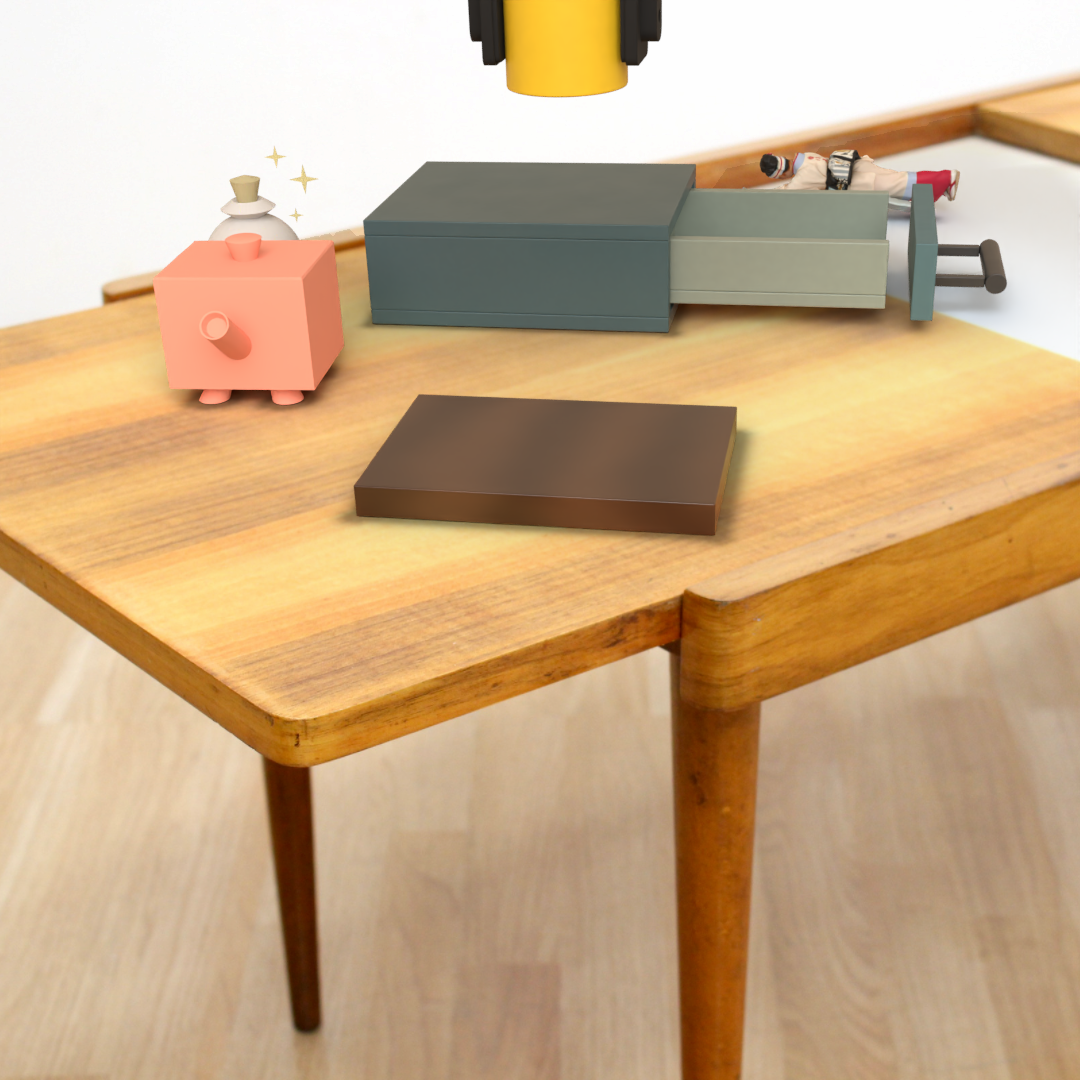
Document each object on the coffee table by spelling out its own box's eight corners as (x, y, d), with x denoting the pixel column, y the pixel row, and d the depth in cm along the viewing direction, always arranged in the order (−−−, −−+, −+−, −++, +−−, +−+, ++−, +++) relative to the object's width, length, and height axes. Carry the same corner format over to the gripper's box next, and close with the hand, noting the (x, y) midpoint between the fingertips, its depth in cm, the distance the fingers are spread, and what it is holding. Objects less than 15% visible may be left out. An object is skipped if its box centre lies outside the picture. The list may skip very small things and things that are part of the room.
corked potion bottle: (222, 295, 99) (201, 136, 94) (338, 292, 98) (323, 133, 94) (201, 326, 93) (177, 160, 89) (324, 323, 93) (306, 156, 88)
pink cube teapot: (151, 431, 79) (125, 274, 75) (222, 349, 90) (203, 208, 86) (300, 433, 78) (282, 274, 74) (354, 350, 89) (340, 207, 85)
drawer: (994, 254, 97) (1000, 184, 95) (1008, 323, 86) (1016, 245, 84) (665, 247, 101) (665, 180, 99) (637, 312, 90) (636, 238, 88)
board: (736, 434, 76) (737, 406, 75) (714, 536, 66) (715, 504, 66) (420, 421, 79) (418, 393, 78) (356, 516, 69) (353, 485, 69)
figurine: (941, 204, 114) (738, 180, 115) (964, 149, 106) (745, 124, 107) (933, 280, 113) (727, 255, 114) (955, 230, 105) (734, 204, 106)
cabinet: (695, 259, 102) (696, 163, 99) (668, 332, 89) (668, 225, 86) (433, 254, 105) (426, 161, 102) (372, 324, 93) (362, 220, 90)
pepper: (636, 74, 68) (635, -80, 65) (617, 98, 64) (615, -66, 61) (520, 73, 69) (515, -78, 66) (494, 97, 65) (487, -64, 62)
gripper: (791, -447, 59) (775, 44, 68) (363, -421, 63) (397, 45, 71) (778, -470, 53) (762, 77, 61) (301, -439, 56) (347, 76, 64)
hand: (566, 55), depth 66 cm, fingers closed on pepper, 5 cm apart
